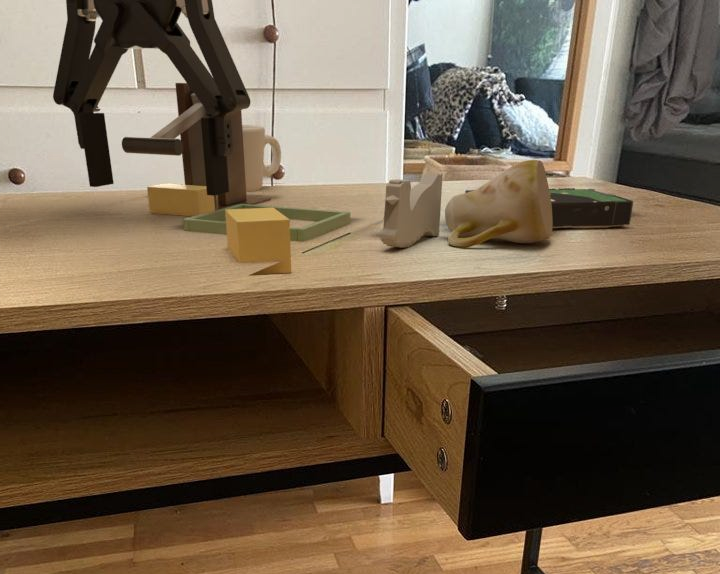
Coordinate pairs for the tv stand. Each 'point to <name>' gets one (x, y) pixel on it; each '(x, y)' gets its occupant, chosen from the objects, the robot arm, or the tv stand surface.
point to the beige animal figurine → (411, 210)
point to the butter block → (180, 199)
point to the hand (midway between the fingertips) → (158, 189)
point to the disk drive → (588, 208)
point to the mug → (503, 208)
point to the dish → (324, 218)
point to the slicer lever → (167, 134)
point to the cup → (258, 155)
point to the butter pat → (259, 238)
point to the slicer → (195, 156)
